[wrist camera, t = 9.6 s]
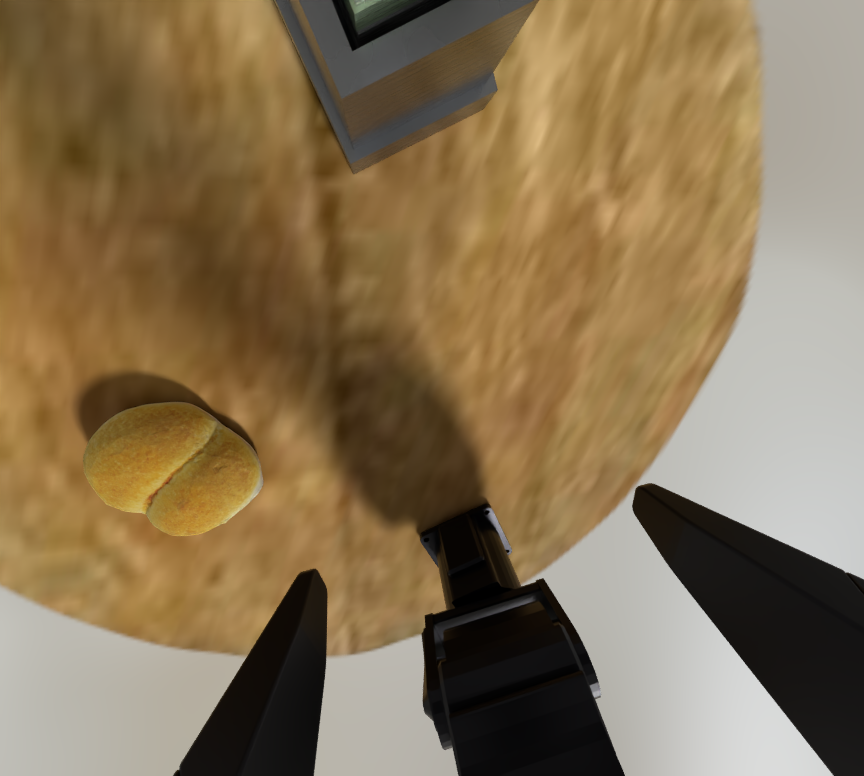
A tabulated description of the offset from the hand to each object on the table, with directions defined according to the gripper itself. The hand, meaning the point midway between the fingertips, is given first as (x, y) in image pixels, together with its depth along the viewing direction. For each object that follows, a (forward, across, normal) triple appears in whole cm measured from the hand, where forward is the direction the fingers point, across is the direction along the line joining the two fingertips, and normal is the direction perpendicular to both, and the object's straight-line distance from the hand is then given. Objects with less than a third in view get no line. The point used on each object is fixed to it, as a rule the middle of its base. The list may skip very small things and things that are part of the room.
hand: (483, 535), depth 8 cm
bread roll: (+14, +16, +4) cm, 21 cm away
